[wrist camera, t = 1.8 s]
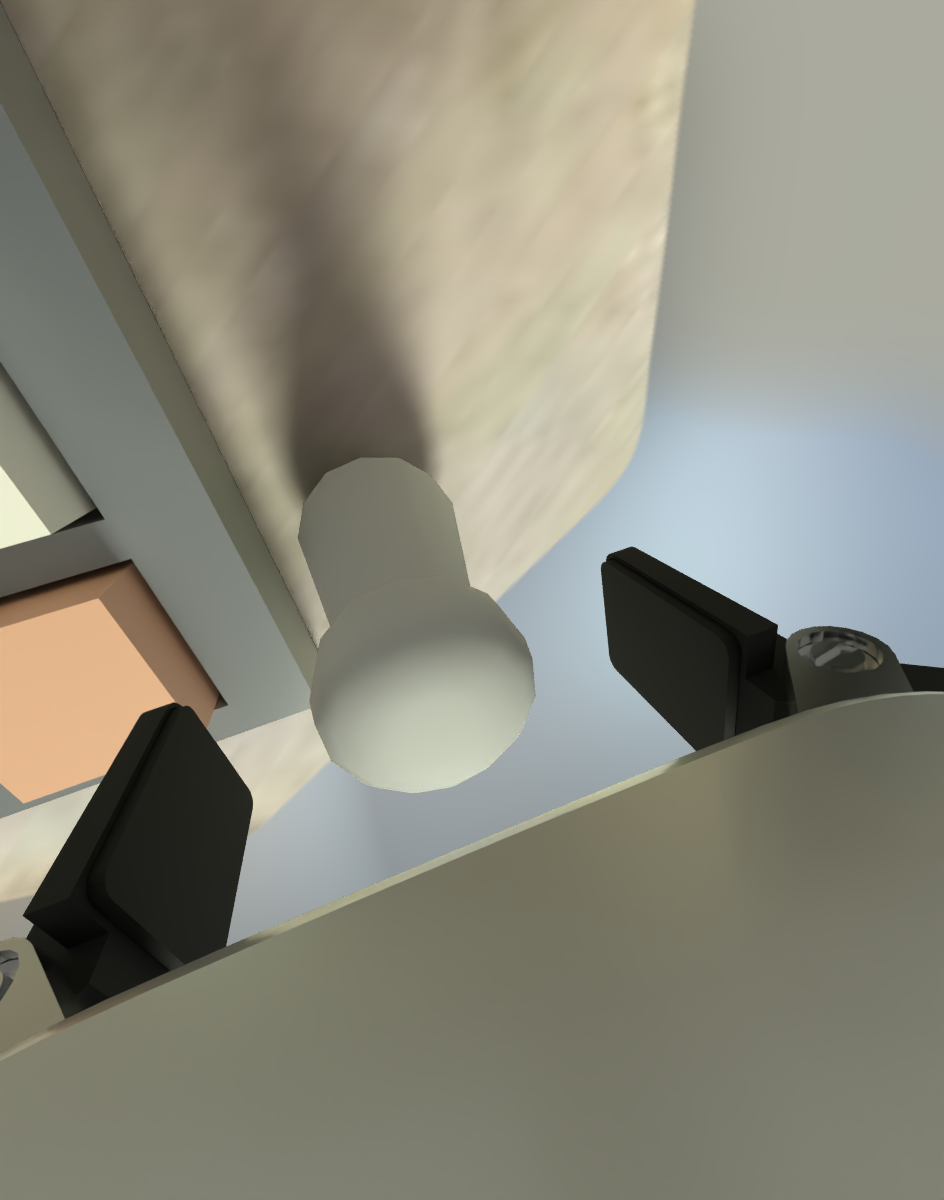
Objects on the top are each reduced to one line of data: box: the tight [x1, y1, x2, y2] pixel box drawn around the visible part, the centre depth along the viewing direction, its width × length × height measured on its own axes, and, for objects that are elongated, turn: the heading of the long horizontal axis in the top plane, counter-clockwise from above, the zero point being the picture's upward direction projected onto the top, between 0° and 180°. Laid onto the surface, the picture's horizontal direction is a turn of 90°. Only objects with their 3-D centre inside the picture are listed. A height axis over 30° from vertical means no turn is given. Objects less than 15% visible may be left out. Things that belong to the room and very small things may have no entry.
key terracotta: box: [0, 559, 220, 804], centre depth 15 cm, size 6×6×4 cm
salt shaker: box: [298, 458, 536, 793], centre depth 13 cm, size 6×6×13 cm
